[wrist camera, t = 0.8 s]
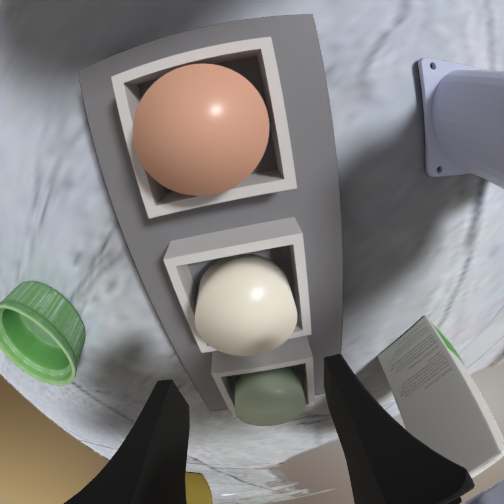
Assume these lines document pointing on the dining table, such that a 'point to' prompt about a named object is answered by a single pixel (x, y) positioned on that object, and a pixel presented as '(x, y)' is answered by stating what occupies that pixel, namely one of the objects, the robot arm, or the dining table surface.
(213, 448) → the dining table surface
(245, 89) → the terracotta button
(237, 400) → the sage button
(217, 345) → the cream button
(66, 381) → the ramekin
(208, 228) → the button panel
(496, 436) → the skincare box
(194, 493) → the flower pot
